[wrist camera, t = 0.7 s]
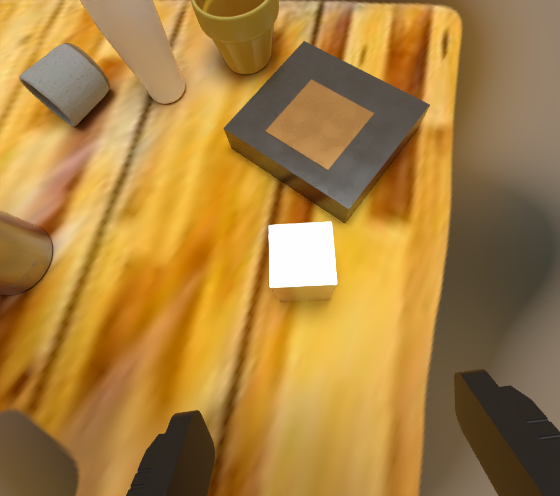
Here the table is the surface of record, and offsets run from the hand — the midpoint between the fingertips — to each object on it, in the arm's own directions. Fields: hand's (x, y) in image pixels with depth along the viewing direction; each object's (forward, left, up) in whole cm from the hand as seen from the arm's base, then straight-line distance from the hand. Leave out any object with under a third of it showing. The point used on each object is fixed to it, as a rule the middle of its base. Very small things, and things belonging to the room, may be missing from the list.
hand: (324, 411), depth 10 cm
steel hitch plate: (-15, +23, -24) cm, 36 cm away
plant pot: (-32, +28, -24) cm, 49 cm away
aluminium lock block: (-6, +7, -24) cm, 26 cm away
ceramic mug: (-49, +8, -24) cm, 55 cm away
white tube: (-38, +17, -24) cm, 48 cm away
